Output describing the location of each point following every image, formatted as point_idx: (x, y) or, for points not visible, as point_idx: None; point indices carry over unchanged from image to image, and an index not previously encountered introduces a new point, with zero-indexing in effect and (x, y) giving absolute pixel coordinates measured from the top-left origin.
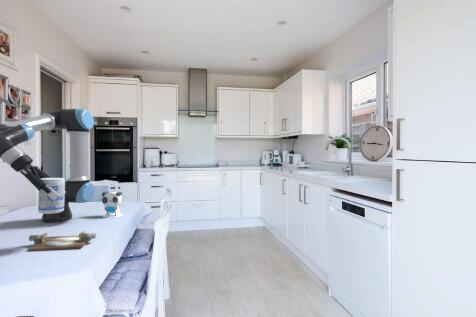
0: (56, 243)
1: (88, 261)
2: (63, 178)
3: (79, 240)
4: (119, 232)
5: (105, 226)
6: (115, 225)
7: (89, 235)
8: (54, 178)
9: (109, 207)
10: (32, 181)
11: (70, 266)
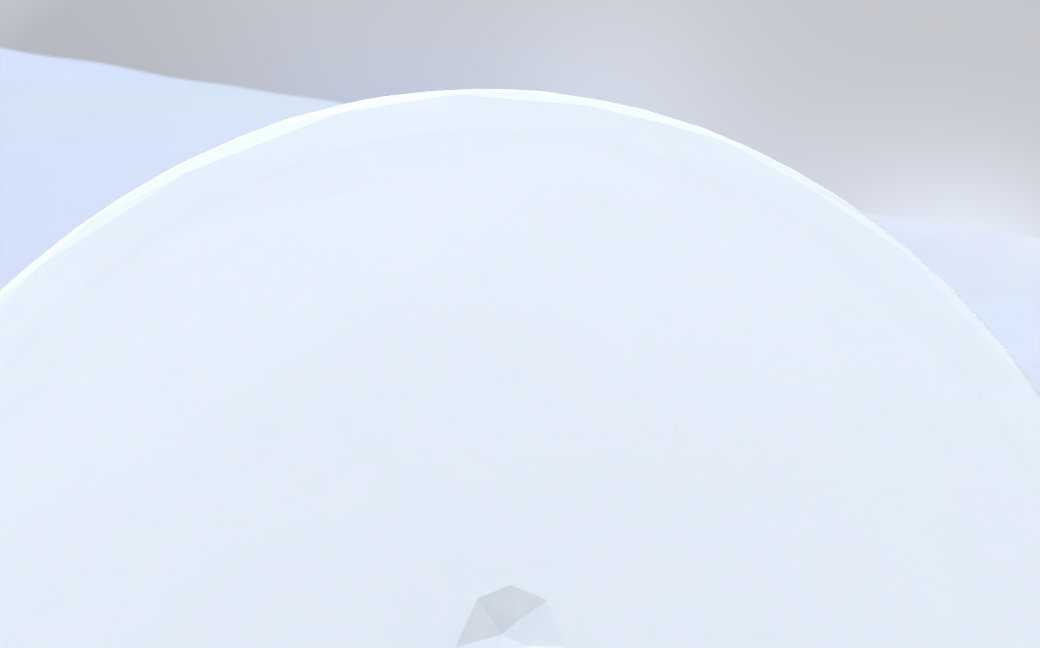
0: None
1: (937, 255)
2: (409, 124)
3: None
4: (321, 101)
5: (36, 207)
6: (47, 129)
7: None
8: (438, 533)
9: None
10: None
11: (1009, 341)
